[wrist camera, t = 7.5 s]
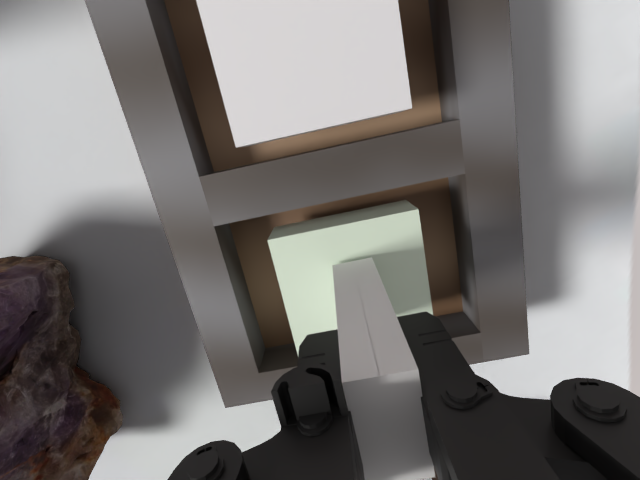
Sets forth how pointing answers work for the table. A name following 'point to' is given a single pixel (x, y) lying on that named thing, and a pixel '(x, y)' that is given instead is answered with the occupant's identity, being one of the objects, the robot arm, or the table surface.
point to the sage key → (345, 246)
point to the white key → (305, 64)
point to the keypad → (328, 179)
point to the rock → (46, 379)
